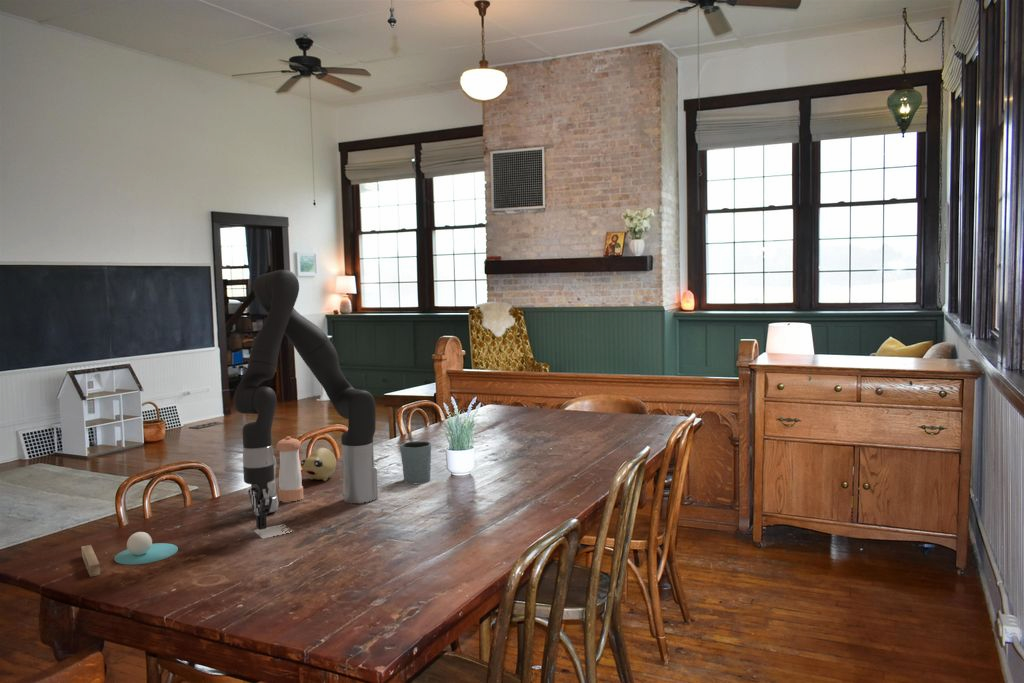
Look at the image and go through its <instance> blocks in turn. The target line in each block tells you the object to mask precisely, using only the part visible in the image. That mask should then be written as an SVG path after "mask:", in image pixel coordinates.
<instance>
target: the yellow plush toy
mask: <svg viewBox="0 0 1024 683" xmlns="http://www.w3.org/2000/svg"><path fill="white" fill-rule="evenodd" d="M300 465H301V466H300V468H301V470H303V471H304V472H305V473H306V475H308V477H309V479H310V480H314V479H315V480H322V481H324V482H327V480H328V477H330V476H331V475H334V474H335V472H336V471H335V469H336V467H337V458H336V456H335V454H334V453H333V452H332V451H331V450H330V449H329V448H328V447H327V448H326V447H318V448H317V449H315V450H314V451H313V452H312V453H311V454H310V455H309V456H308V457H306V458H305V459H302V460H301V462H300Z"/></svg>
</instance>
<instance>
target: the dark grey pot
mask: <svg viewBox="0 0 1024 683" xmlns="http://www.w3.org/2000/svg"><path fill="white" fill-rule="evenodd" d="M399 447H400V456H401V464H402V473H403V482H404V481H405V482H404V483H406V482H407V483H406V484H410V483H420V484H426V483H428V482H431V470H432V465H431V463H432V443H431V442H430V441H421V440H419V441H418V440H417V441H407V442H404V443H401V444H400V445H399ZM425 482H426V483H425Z"/></svg>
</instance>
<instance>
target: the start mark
mask: <svg viewBox="0 0 1024 683" xmlns="http://www.w3.org/2000/svg"><path fill="white" fill-rule="evenodd" d="M282 525H284V526H283V527H280V526H282ZM286 526H287V525H285V523H284V524H278V525H272V526H267V528H266V529H262V530H259V529H258V528H257V529H254V530H253V532H254V534H255V533H256V534H257V536H258V537H260V538H261V539H262V540H265V539H270V538H274V537H273V536H275V537H278V536H277V535H279V536H283V535H282V534H284V535H287V534H286V533H289V534H291V533H290V532H292V531H293V529H291V531H290V532H289V531H287V530H288V529H290V527H288V528H285V529H284V531H283V532H282V531H281V529H282V528H284V527H286ZM277 527H278V528H277ZM285 531H287V532H286V533H285Z"/></svg>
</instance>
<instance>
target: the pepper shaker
mask: <svg viewBox="0 0 1024 683" xmlns="http://www.w3.org/2000/svg"><path fill="white" fill-rule="evenodd" d="M301 445H302V443H301V441H300V440H299V439H297V438H293V437H291V436H288V435H287V436H286V437H285V438H283V439H281V440H278V442H277V443H276V447H275V448H276V449H277V451H279V471H278V489H277V497H278V502H280V501H282V502H281V503H290V502H289V501H296V502H298V501H297V500H300V501H302V500H304V486H303V484H302V482H303V481H302V471H301V466H300V458H299V449H301V447H302V446H301ZM301 499H302V500H301Z"/></svg>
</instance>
